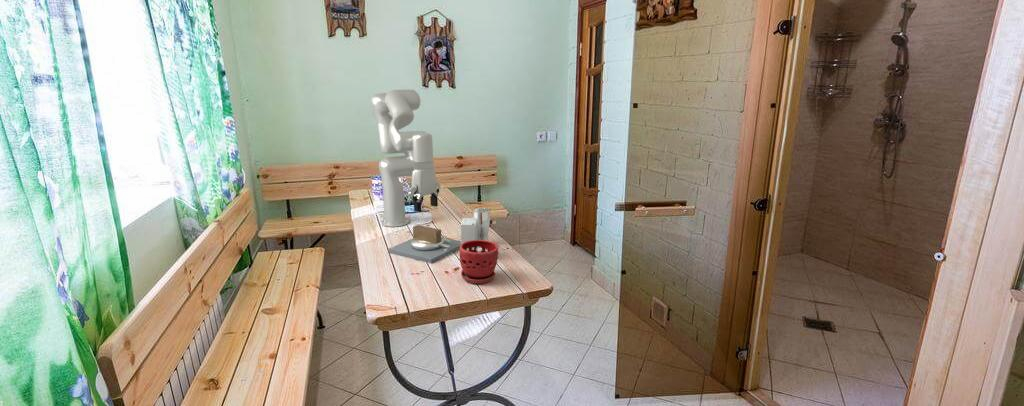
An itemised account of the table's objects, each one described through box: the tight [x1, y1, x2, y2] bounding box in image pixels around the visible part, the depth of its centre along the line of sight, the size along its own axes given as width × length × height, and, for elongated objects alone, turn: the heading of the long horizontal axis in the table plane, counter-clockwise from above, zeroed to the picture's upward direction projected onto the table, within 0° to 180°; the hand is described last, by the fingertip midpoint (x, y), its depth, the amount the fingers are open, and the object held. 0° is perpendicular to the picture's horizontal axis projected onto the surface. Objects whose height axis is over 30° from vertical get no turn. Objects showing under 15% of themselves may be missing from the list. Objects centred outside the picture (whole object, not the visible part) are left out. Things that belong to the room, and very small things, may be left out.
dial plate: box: [387, 237, 461, 264], centre depth 189 cm, size 22×22×2 cm
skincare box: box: [460, 217, 479, 252], centre depth 178 cm, size 8×6×15 cm
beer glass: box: [472, 207, 491, 241], centre depth 192 cm, size 7×7×15 cm
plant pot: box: [458, 240, 499, 284], centre depth 160 cm, size 13×13×12 cm
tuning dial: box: [411, 224, 450, 251], centre depth 187 cm, size 18×13×7 cm
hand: (426, 208), depth 184 cm, fingers open, 9 cm apart
